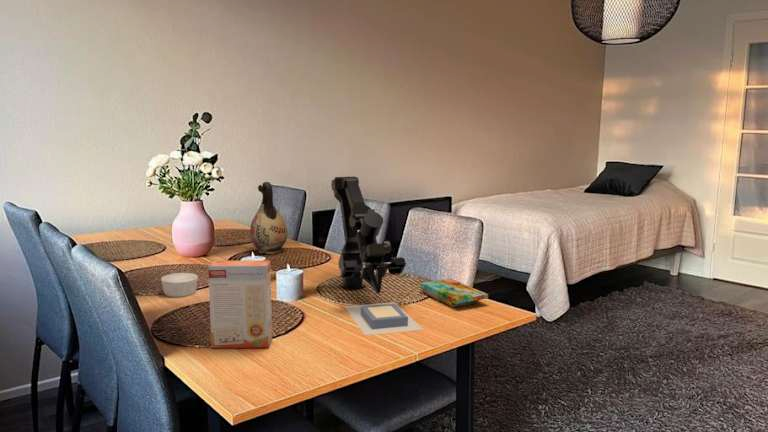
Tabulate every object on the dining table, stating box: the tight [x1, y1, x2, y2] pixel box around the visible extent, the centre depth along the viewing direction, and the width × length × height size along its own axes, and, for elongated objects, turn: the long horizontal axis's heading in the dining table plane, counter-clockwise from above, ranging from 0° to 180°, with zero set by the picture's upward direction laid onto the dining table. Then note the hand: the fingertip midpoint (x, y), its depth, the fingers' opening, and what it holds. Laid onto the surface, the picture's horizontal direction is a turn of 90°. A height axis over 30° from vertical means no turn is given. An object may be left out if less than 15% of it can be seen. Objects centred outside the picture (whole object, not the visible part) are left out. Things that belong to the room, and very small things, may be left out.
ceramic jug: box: [249, 181, 289, 255], centre depth 238 cm, size 17×15×30 cm
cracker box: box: [207, 260, 273, 349], centre depth 141 cm, size 14×6×21 cm, turn 92°
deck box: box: [361, 304, 408, 329], centre depth 160 cm, size 2×10×12 cm
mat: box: [343, 301, 424, 336], centre depth 163 cm, size 24×16×1 cm, turn 17°
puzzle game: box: [419, 278, 489, 308], centre depth 181 cm, size 12×5×20 cm
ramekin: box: [160, 272, 199, 298], centre depth 184 cm, size 11×11×5 cm
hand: (378, 292), depth 164 cm, fingers closed
